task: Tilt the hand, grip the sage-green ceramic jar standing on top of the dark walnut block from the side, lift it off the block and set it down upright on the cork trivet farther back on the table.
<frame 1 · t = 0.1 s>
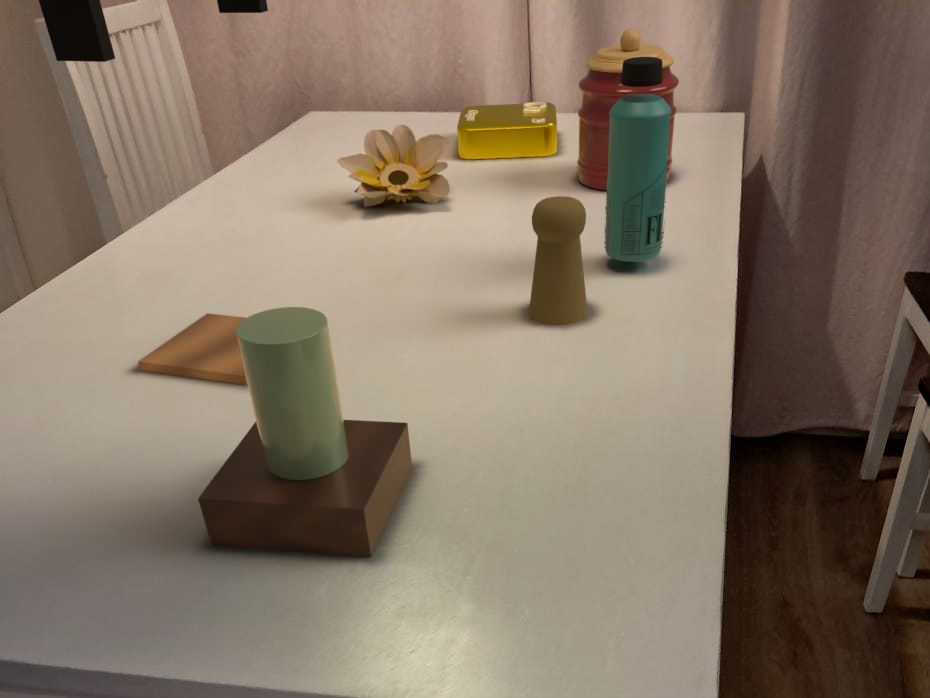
hand: (173, 34, 47), 31 cm above the table, tool pointing down, fingers open, 13 cm apart
element tile: (508, 147, 145), on the table
walnut block: (316, 504, 70), on the table
sage jar: (307, 458, 67), point 4 cm above the table, touching walnut block
beverage bottle: (631, 267, 104), on the table
kitchen canister: (623, 180, 128), on the table
decorative flower: (397, 206, 125), on the table
cork trivet: (227, 352, 91), on the table
pepper shaker: (558, 315, 95), on the table
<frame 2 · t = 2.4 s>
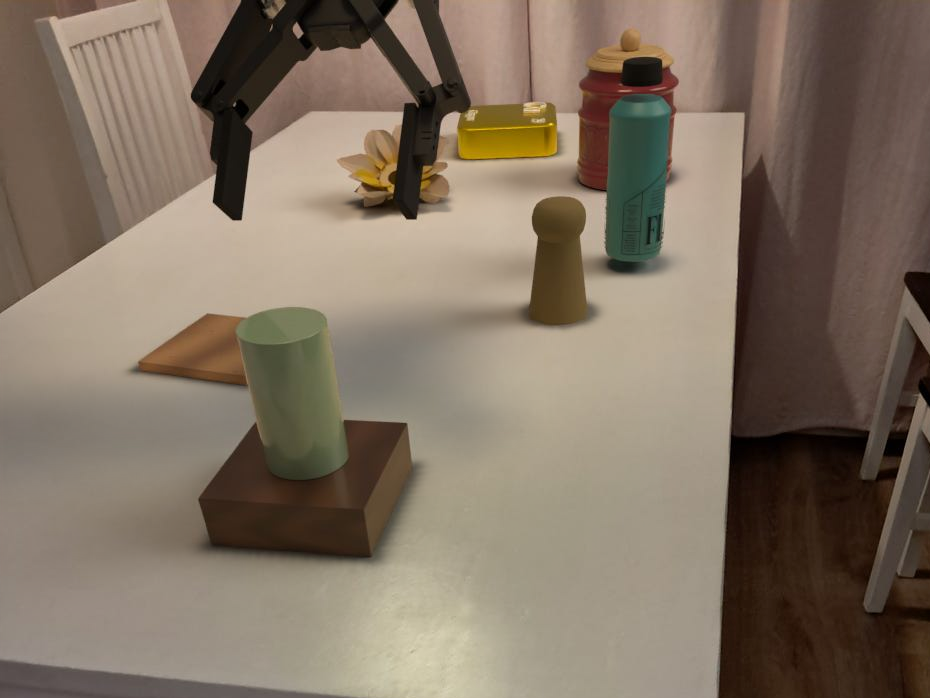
hand: (313, 211, 64), 18 cm above the table, tool tilted 45°, fingers open, 13 cm apart
nothing on the table moved.
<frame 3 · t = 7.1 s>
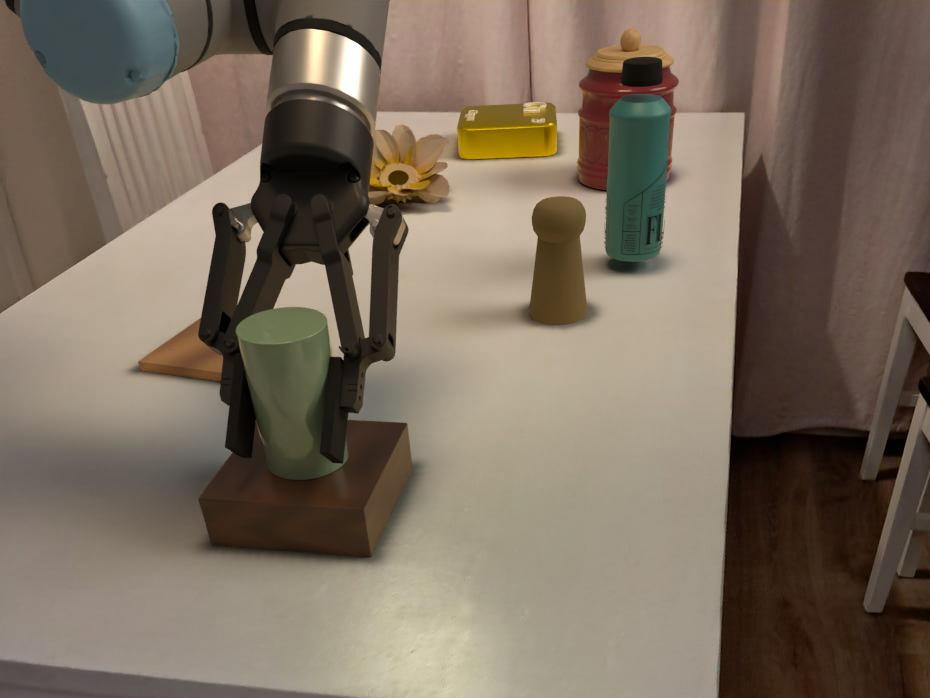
hand: (284, 454, 63), 6 cm above the table, tool tilted 45°, fingers closed on sage jar, 6 cm apart
sage jar: (307, 458, 67), point 4 cm above the table, touching gripper, walnut block
everything else where it was.
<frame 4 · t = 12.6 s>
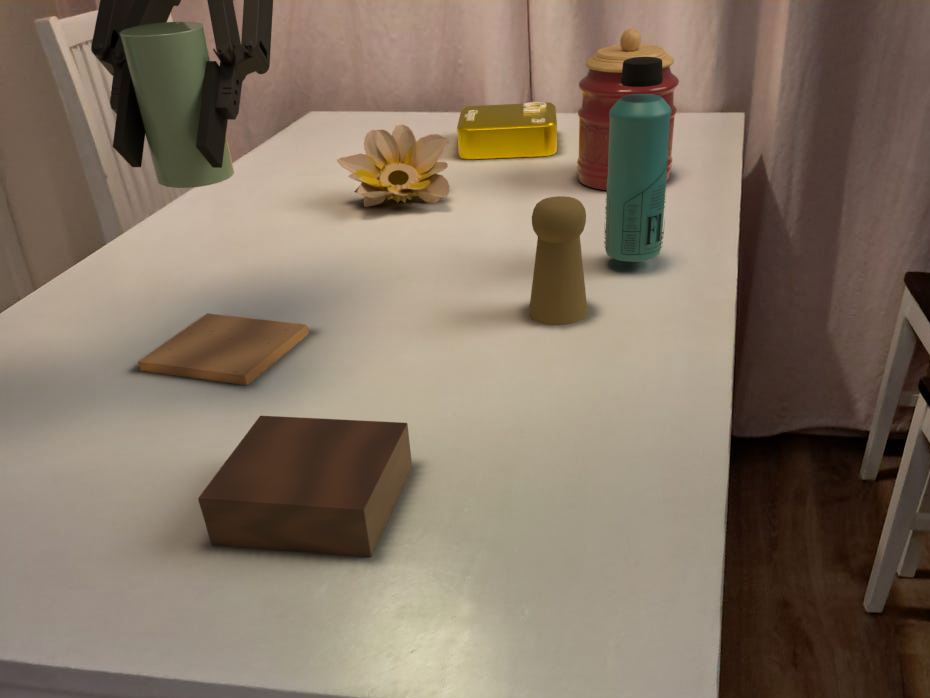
hand: (167, 156, 69), 20 cm above the table, tool tilted 45°, fingers closed on sage jar, 6 cm apart
sage jar: (196, 177, 74), point 18 cm above the table, touching gripper
everything else where it was.
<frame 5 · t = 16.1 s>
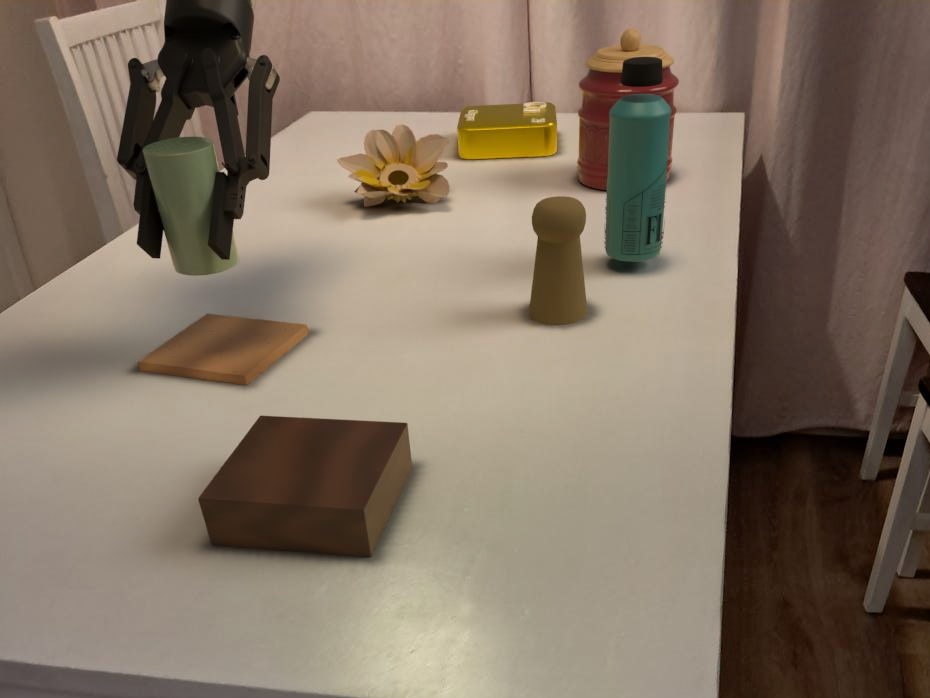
hand: (183, 251, 81), 11 cm above the table, tool tilted 45°, fingers closed on sage jar, 6 cm apart
sage jar: (206, 263, 86), point 9 cm above the table, touching gripper
everything else where it was.
when the fingers open (3 cm above the table, at t = 18.5 s): sage jar stays where it is, resting on cork trivet.
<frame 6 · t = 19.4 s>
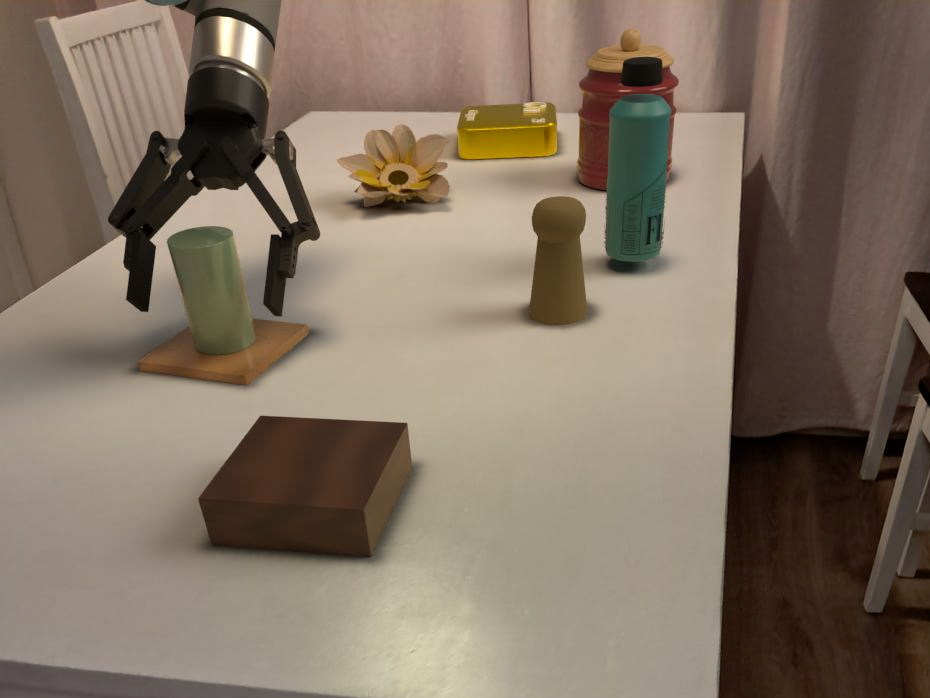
hand: (203, 308, 86), 5 cm above the table, tool tilted 45°, fingers open, 13 cm apart
sage jar: (225, 342, 91), point 1 cm above the table, touching cork trivet
everything else where it was.
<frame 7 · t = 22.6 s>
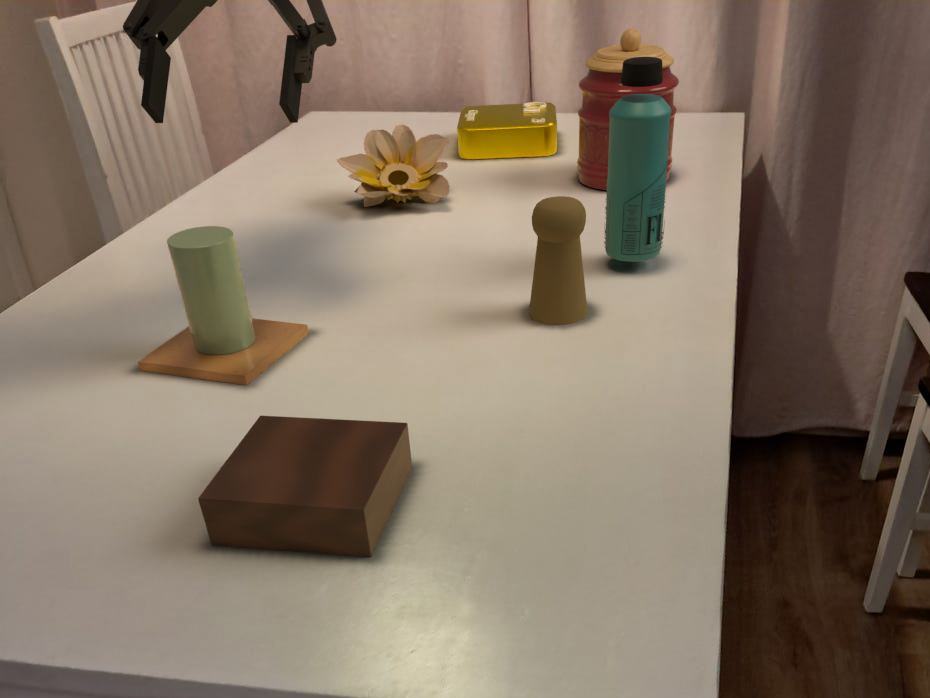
hand: (219, 114, 86), 19 cm above the table, tool tilted 45°, fingers open, 13 cm apart
nothing on the table moved.
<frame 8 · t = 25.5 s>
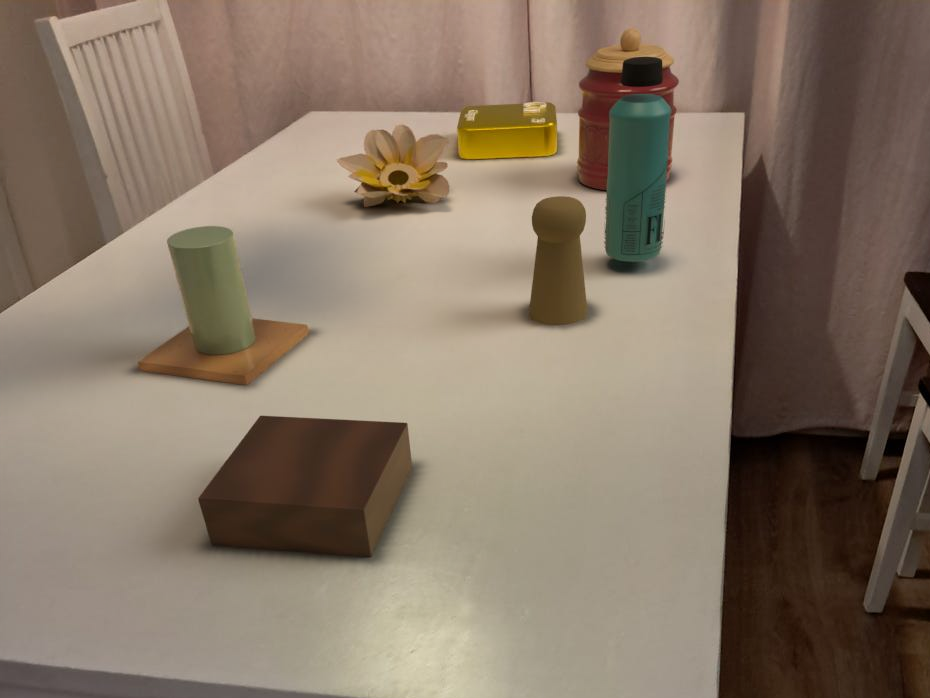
nothing on the table moved.
at the end: sage jar inside the target area on the cork trivet (0.1 cm from its centre), point 1.0 cm above the cork trivet's base; sage jar tilted 0°; sage jar touching cork trivet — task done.
